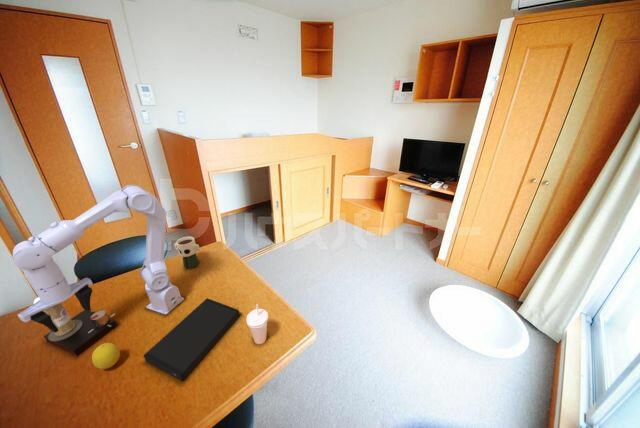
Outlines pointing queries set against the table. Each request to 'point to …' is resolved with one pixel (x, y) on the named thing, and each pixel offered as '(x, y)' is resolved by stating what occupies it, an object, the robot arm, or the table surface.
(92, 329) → the hob
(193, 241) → the character mug
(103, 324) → the cupcake
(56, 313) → the sprinkles bottle
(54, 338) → the burner
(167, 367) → the external hard drive
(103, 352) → the lemon
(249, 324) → the smoothie
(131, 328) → the table surface
